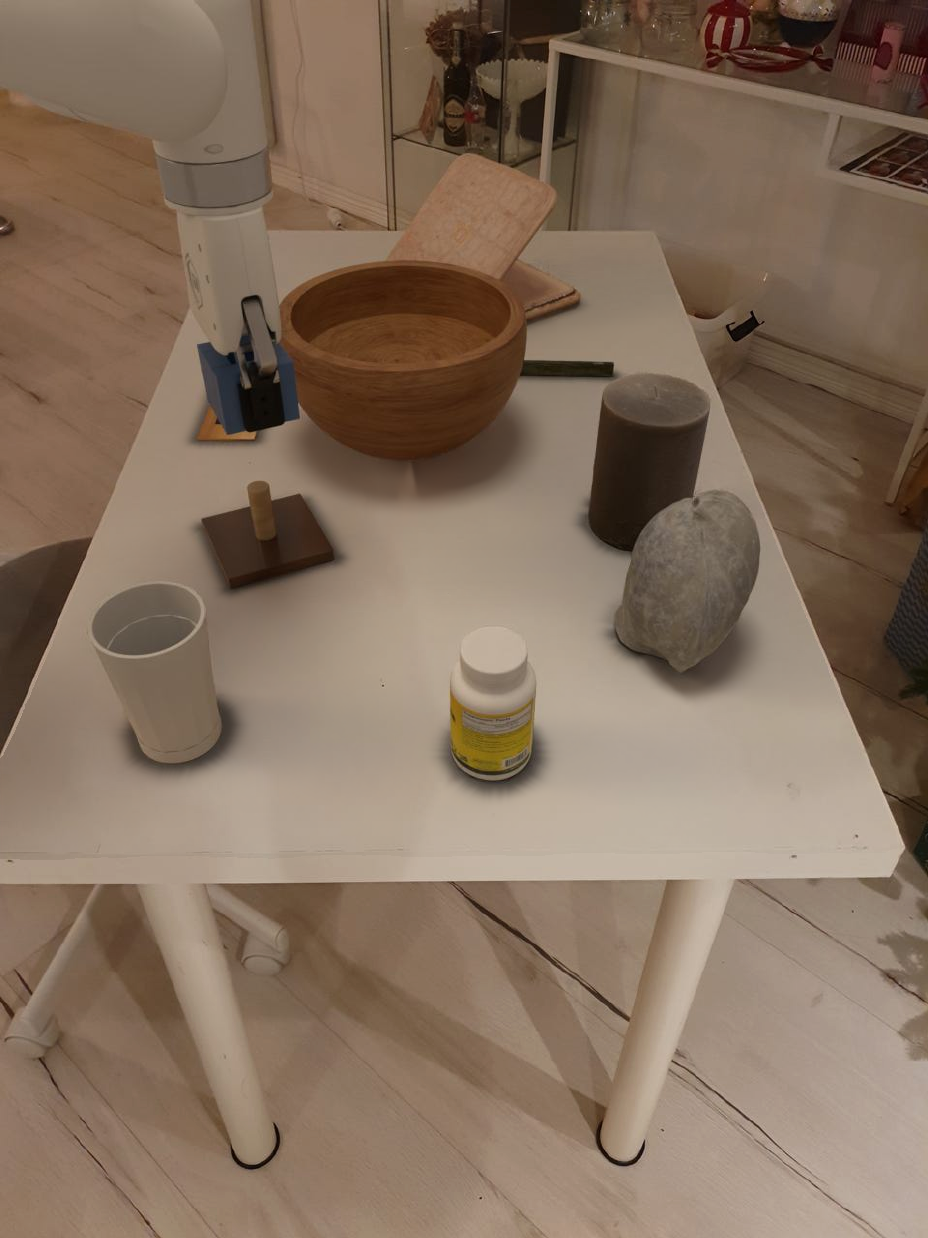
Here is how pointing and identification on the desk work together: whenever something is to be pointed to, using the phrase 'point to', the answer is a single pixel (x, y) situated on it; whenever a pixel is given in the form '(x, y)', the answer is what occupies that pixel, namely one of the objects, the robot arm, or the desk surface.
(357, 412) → the bowl
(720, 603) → the decorative stone
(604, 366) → the rod
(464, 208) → the case
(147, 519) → the desk surface
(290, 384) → the collar block
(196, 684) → the cup
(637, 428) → the pillar candle
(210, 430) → the board
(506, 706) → the pill bottle
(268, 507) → the dowel stand
